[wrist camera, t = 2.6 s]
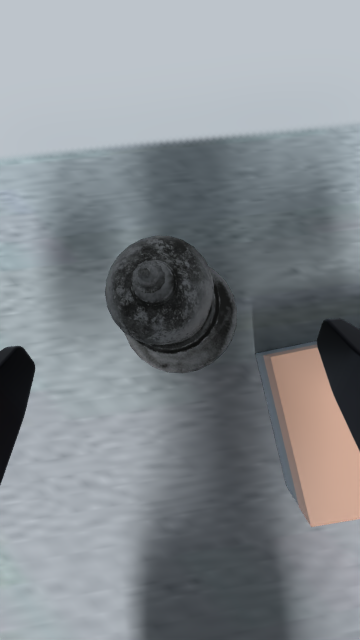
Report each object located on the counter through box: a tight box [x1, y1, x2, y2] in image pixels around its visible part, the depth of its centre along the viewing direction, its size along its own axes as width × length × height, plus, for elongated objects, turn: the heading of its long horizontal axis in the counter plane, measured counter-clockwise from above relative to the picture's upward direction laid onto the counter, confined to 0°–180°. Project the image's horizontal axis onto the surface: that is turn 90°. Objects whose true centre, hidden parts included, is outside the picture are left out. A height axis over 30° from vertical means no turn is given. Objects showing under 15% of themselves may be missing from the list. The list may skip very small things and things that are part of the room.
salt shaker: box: [105, 236, 237, 373], centre depth 11 cm, size 6×6×12 cm
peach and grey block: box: [255, 341, 360, 527], centre depth 14 cm, size 8×8×4 cm
